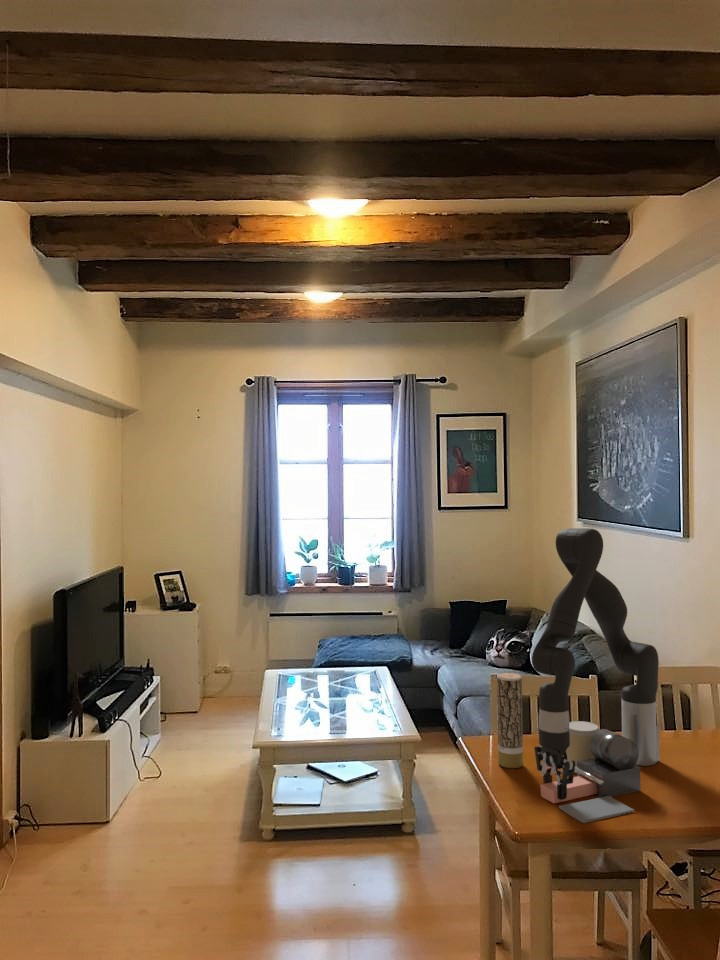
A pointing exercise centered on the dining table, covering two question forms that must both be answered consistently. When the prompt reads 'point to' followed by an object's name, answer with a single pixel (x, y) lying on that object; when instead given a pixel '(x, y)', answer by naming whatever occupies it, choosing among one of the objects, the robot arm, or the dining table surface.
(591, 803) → the mat
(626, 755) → the dispenser
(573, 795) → the pink block
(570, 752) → the coffee cup
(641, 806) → the dining table surface
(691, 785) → the dining table surface
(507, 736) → the bark print canister
